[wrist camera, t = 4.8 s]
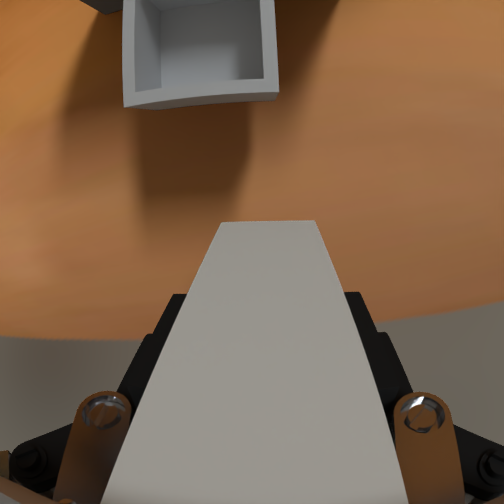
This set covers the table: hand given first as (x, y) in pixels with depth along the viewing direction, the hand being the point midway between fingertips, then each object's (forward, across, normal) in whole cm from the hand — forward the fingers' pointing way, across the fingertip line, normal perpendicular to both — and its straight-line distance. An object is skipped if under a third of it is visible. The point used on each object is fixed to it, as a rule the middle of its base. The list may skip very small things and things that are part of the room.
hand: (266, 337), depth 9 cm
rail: (+5, 0, 0) cm, 5 cm away
